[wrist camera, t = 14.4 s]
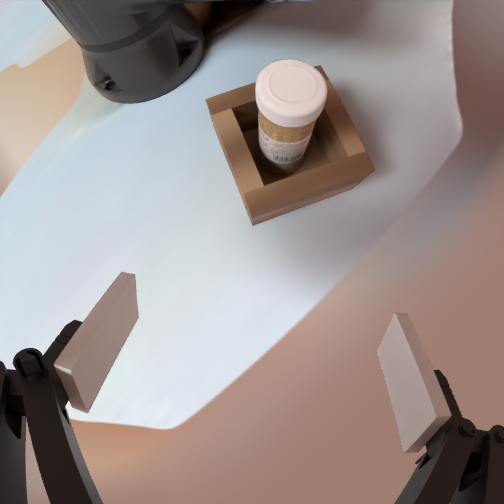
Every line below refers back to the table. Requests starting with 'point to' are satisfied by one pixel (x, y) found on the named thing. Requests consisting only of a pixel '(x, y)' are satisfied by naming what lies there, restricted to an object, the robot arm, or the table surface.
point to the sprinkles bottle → (287, 112)
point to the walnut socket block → (312, 167)
